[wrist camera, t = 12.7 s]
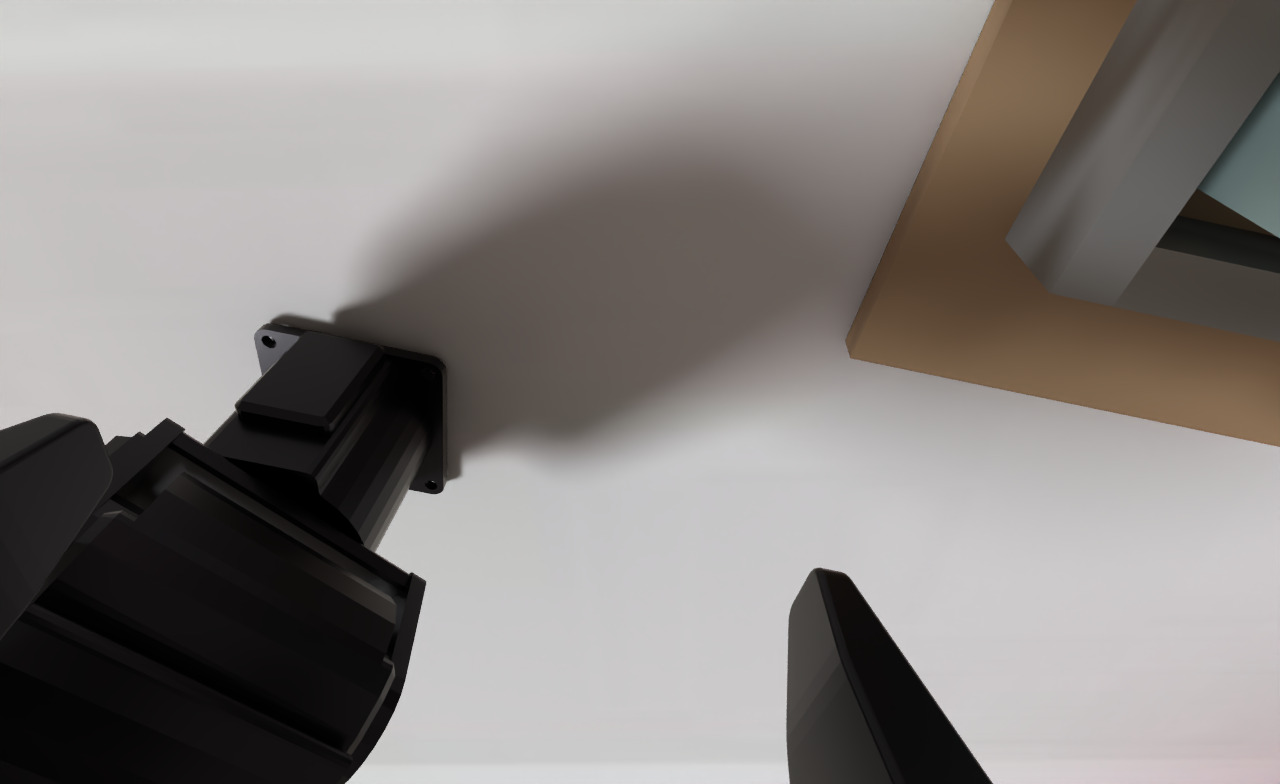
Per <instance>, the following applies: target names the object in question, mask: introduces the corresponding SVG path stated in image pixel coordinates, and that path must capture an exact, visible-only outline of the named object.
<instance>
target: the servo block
mask: <svg viewBox="0 0 1280 784" xmlns="http://www.w3.org/2000/svg"><path fill="white" fill-rule="evenodd" d="M1197 189H1199V190H1201V191H1202V192H1204V193H1206V194H1207V195H1209V196H1211V197H1212V198H1214V199H1216V200H1217V201H1219V202H1221V203H1222V204H1224V205H1226V206H1227V207H1229V208H1230V209H1232V210H1234V211H1235V212H1237V213H1239V214H1240V215H1242V216H1244V217H1245V218H1247V219H1249V220H1250V221H1252V222H1254V223H1255V224H1257V225H1259V226H1260V227H1262V228H1263V229H1265V230H1267V231H1268V232H1270V233H1272V234H1273V235H1275V236H1277V237H1278V238H1280V72H1279V73H1278V75H1277V76H1276V78H1275V79H1274V80H1273V82H1272V83H1271V85H1270V86H1269V87H1268V89H1267V90H1266V92H1265V93H1264V94H1263V96H1262V97H1261V99H1260V100H1259V101H1258V103H1257V104H1256V106H1255V107H1254V108H1253V110H1252V111H1251V113H1250V114H1249V116H1248V117H1247V118H1246V120H1245V121H1244V123H1243V124H1242V125H1241V127H1240V128H1239V130H1238V131H1237V132H1236V134H1235V135H1234V137H1233V138H1232V139H1231V141H1230V142H1229V144H1228V145H1227V146H1226V148H1225V149H1224V151H1223V152H1222V154H1221V155H1220V156H1219V158H1218V159H1217V161H1216V162H1215V163H1214V165H1213V166H1212V168H1211V169H1210V170H1209V172H1208V173H1207V175H1206V176H1205V177H1204V179H1203V180H1202V182H1201V183H1200V184H1199V186H1198V187H1197Z"/></svg>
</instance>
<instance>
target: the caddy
mask: <svg viewBox="0 0 1280 784" xmlns="http://www.w3.org/2000/svg"><path fill="white" fill-rule="evenodd" d="M1279 72H1280V0H995V2H994V4H993V6H992V9H991V11H990V13H989V15H988V18H987V20H986V22H985V24H984V27H983V29H982V31H981V34H980V36H979V38H978V40H977V43H976V45H975V47H974V49H973V52H972V54H971V56H970V59H969V61H968V63H967V65H966V68H965V70H964V72H963V74H962V77H961V79H960V81H959V84H958V86H957V88H956V90H955V93H954V95H953V97H952V99H951V102H950V104H949V106H948V109H947V111H946V113H945V115H944V118H943V120H942V122H941V124H940V127H939V129H938V131H937V134H936V136H935V138H934V140H933V143H932V145H931V147H930V149H929V152H928V154H927V156H926V159H925V161H924V163H923V165H922V168H921V170H920V172H919V174H918V177H917V179H916V181H915V183H914V186H913V188H912V190H911V193H910V195H909V197H908V199H907V202H906V204H905V206H904V208H903V211H902V213H901V215H900V218H899V220H898V222H897V224H896V227H895V229H894V231H893V233H892V236H891V238H890V240H889V243H888V245H887V247H886V249H885V252H884V254H883V256H882V258H881V261H880V263H879V265H878V268H877V270H876V272H875V274H874V277H873V279H872V281H871V283H870V286H869V288H868V290H867V293H866V295H865V297H864V299H863V302H862V304H861V306H860V308H859V311H858V313H857V315H856V318H855V320H854V322H853V324H852V327H851V329H850V331H849V333H848V336H847V338H846V340H845V341H846V345H847V348H848V352H849V355H850V358H853V359H857V360H862V361H867V362H872V363H877V364H882V365H886V366H891V367H896V368H901V369H906V370H911V371H915V372H920V373H925V374H930V375H935V376H940V377H945V378H949V379H954V380H959V381H964V382H969V383H974V384H978V385H983V386H988V387H993V388H998V389H1003V390H1007V391H1012V392H1017V393H1022V394H1027V395H1032V396H1036V397H1041V398H1046V399H1051V400H1056V401H1061V402H1065V403H1070V404H1075V405H1080V406H1085V407H1090V408H1094V409H1099V410H1104V411H1109V412H1114V413H1119V414H1123V415H1128V416H1133V417H1138V418H1143V419H1148V420H1153V421H1157V422H1162V423H1167V424H1172V425H1177V426H1182V427H1186V428H1191V429H1196V430H1201V431H1206V432H1211V433H1215V434H1220V435H1225V436H1230V437H1235V438H1240V439H1244V440H1249V441H1254V442H1259V443H1264V444H1269V445H1273V446H1278V447H1280V238H1278V237H1277V236H1275V235H1273V234H1272V233H1270V232H1268V231H1267V230H1265V229H1263V228H1262V227H1260V226H1259V225H1257V224H1255V223H1254V222H1252V221H1250V220H1249V219H1247V218H1245V217H1244V216H1242V215H1240V214H1239V213H1237V212H1235V211H1234V210H1232V209H1230V208H1229V207H1227V206H1226V205H1224V204H1222V203H1221V202H1219V201H1217V200H1216V199H1214V198H1212V197H1211V196H1209V195H1207V194H1206V193H1204V192H1202V191H1201V190H1199V189H1197V187H1198V186H1199V184H1200V183H1201V182H1202V180H1203V179H1204V177H1205V176H1206V175H1207V173H1208V172H1209V170H1210V169H1211V168H1212V166H1213V165H1214V163H1215V162H1216V161H1217V159H1218V158H1219V156H1220V155H1221V154H1222V152H1223V151H1224V149H1225V148H1226V146H1227V145H1228V144H1229V142H1230V141H1231V139H1232V138H1233V137H1234V135H1235V134H1236V132H1237V131H1238V130H1239V128H1240V127H1241V125H1242V124H1243V123H1244V121H1245V120H1246V118H1247V117H1248V116H1249V114H1250V113H1251V111H1252V110H1253V108H1254V107H1255V106H1256V104H1257V103H1258V101H1259V100H1260V99H1261V97H1262V96H1263V94H1264V93H1265V92H1266V90H1267V89H1268V87H1269V86H1270V85H1271V83H1272V82H1273V80H1274V79H1275V78H1276V76H1277V75H1278V73H1279Z"/></svg>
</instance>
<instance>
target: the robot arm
mask: <svg viewBox="0 0 1280 784" xmlns="http://www.w3.org/2000/svg"><path fill="white" fill-rule="evenodd" d="M269 336H270V337H272V338H273V339H274V340H275V341H276V342H275V341H273V340H272V339H270V338H269ZM254 340H255V344H256V349H257V354H258V358H259V363H260V367H261V372H262V376H261V377H260V378H259V379H258V380H257V381H256V383H255V384H254V385H253V386H252V387H251V388H250V389H249V390H248V391H247V392H246V393H245V394H244V395H243V396H242V397H241V398H240V399H239V400H238V401H237V402H236V404H235V409H236V410H235V412H234V413H233V414H232V415H231V416H230V417H229V418H228V419H227V420H226V421H225V422H224V423H223V424H222V425H221V426H220V427H219V428H218V429H217V430H216V431H215V432H214V434H213V435H212V436H211V437H210V438H209V439H208V440H207V441H206V442H205V443H204V444H202V443H200V442H198V441H197V440H195V439H194V438H192V437H191V436H189V435H187V434H186V433H184V431H185V429H184V428H183V427H181V426H180V425H178V424H176V423H175V422H173V421H172V420H170V419H168V418H166V419H164V420H163V421H162V422H161V423H160V424H158V425H157V426H156V427H155V428H154V429H152V430H151V431H150V432H149V433H148V434H146V435H144V434H143V433H141V432H138V433H137V434H135V435H134V436H133V437H123V436H116V437H114V438H113V439H112V440H111V441H110V442H109V443H108V444H106V445H104V442H103V439H102V437H101V434H100V432H99V429H98V427H97V426H96V424H95V423H93V422H92V421H91V420H89V419H86V418H81V417H76V416H72V415H67V414H61V413H51V414H46V415H43V416H40V417H37V418H34V419H32V420H29V421H26V422H23V423H20V424H17V425H14V426H11V427H9V428H6V429H3V430H0V784H345V783H346V782H347V781H348V780H349V779H350V778H351V777H352V776H353V774H354V773H355V772H356V771H357V770H358V769H359V767H360V766H361V765H362V764H363V762H364V761H365V760H366V758H367V757H368V755H369V754H370V753H371V751H372V750H373V748H374V747H375V745H376V743H377V742H378V740H379V739H380V737H381V735H382V734H383V732H384V730H385V728H386V726H387V725H388V723H389V721H390V719H391V717H392V715H393V713H394V711H395V708H396V706H397V703H398V701H399V698H400V696H401V693H402V689H403V686H404V683H405V679H406V674H407V670H408V665H409V660H410V656H411V651H412V646H413V642H414V637H415V633H416V628H417V623H418V619H419V614H420V609H421V605H422V600H423V596H424V591H425V586H426V581H425V580H423V579H422V578H420V577H419V576H417V575H415V574H414V573H410V574H408V573H407V572H405V571H403V570H402V569H400V568H399V567H397V566H396V565H394V564H392V563H391V562H389V561H388V560H386V559H384V558H383V557H381V556H380V555H378V554H376V553H375V551H376V550H377V548H378V546H379V544H380V542H381V540H382V538H383V536H384V535H385V533H386V531H387V529H388V527H389V525H390V523H391V521H392V520H393V518H394V516H395V514H396V512H397V510H398V508H399V506H400V504H401V503H402V501H403V499H404V497H405V495H406V493H407V491H408V489H409V490H414V491H419V492H424V493H429V494H438V493H441V492H442V491H443V489H444V487H445V485H446V482H447V370H446V366H445V365H444V363H443V362H442V361H441V360H440V359H438V358H436V357H433V356H430V355H425V354H420V353H415V352H410V351H405V350H400V349H395V348H390V347H385V346H380V345H376V344H372V343H367V342H362V341H357V340H352V339H347V338H342V337H337V336H332V335H327V334H322V333H317V332H313V331H307V330H302V329H297V328H292V327H287V326H282V325H277V324H265V325H263V326H262V327H261V328H260V329H259V330H258V331H257V332H256V333H255V335H254ZM426 368H429V369H431V370H433V371H434V372H435V374H432V373H430V372H428V371H427V370H426ZM432 481H433V482H432ZM434 482H435V483H434ZM787 755H788V768H789V779H790V784H993V783H992V782H991V780H990V779H989V777H988V776H987V774H986V773H985V771H984V770H983V769H982V767H981V766H980V764H979V763H978V761H977V760H976V759H975V757H974V756H973V754H972V753H971V751H970V750H969V748H968V747H967V746H966V744H965V743H964V741H963V740H962V738H961V737H960V735H959V734H958V733H957V731H956V730H955V728H954V727H953V725H952V724H951V722H950V721H949V720H948V718H947V717H946V715H945V714H944V712H943V711H942V710H941V708H940V707H939V705H938V704H937V702H936V701H935V699H934V698H933V697H932V695H931V694H930V692H929V691H928V689H927V688H926V686H925V685H924V684H923V682H922V681H921V679H920V678H919V676H918V675H917V674H916V672H915V671H914V669H913V668H912V666H911V665H910V663H909V662H908V661H907V659H906V658H905V656H904V655H903V653H902V652H901V650H900V649H899V648H898V646H897V645H896V643H895V642H894V640H893V639H892V637H891V636H890V635H889V633H888V632H887V630H886V629H885V627H884V626H883V625H882V623H881V622H880V620H879V619H878V617H877V616H876V614H875V613H874V612H873V610H872V609H871V607H870V606H869V604H868V603H867V601H866V600H865V599H864V597H863V596H862V594H861V593H860V591H859V590H858V588H857V587H856V586H855V584H854V583H853V581H852V580H851V579H850V577H848V576H847V575H846V574H845V573H842V572H838V571H833V570H829V569H824V568H815V569H813V570H812V571H811V572H810V574H809V575H808V577H807V579H806V581H805V583H804V584H803V586H802V588H801V590H800V591H799V593H798V595H797V597H796V599H795V600H794V602H793V604H792V607H791V610H790V615H789V627H788V673H787Z"/></svg>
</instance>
